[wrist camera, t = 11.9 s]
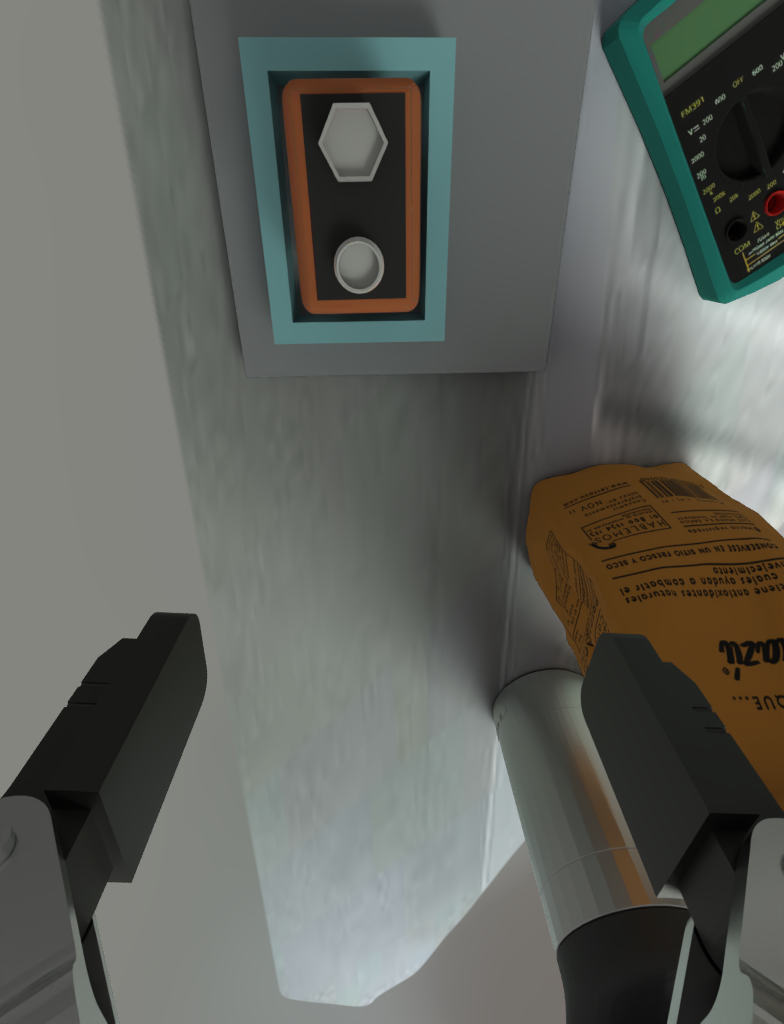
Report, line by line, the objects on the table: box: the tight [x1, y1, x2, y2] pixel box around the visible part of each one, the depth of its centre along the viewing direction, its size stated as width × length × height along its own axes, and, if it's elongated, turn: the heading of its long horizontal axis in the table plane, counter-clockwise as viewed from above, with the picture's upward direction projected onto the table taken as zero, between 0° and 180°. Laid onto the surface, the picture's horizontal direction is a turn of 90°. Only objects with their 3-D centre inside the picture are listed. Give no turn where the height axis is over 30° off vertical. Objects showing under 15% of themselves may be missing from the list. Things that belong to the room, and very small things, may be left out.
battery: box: [282, 78, 421, 314], centre depth 20 cm, size 4×7×10 cm, turn 1°
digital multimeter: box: [602, 0, 784, 304], centre depth 24 cm, size 7×15×3 cm, turn 37°
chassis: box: [189, 0, 596, 378], centre depth 24 cm, size 17×16×4 cm
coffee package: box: [526, 462, 784, 812], centre depth 26 cm, size 10×12×22 cm
